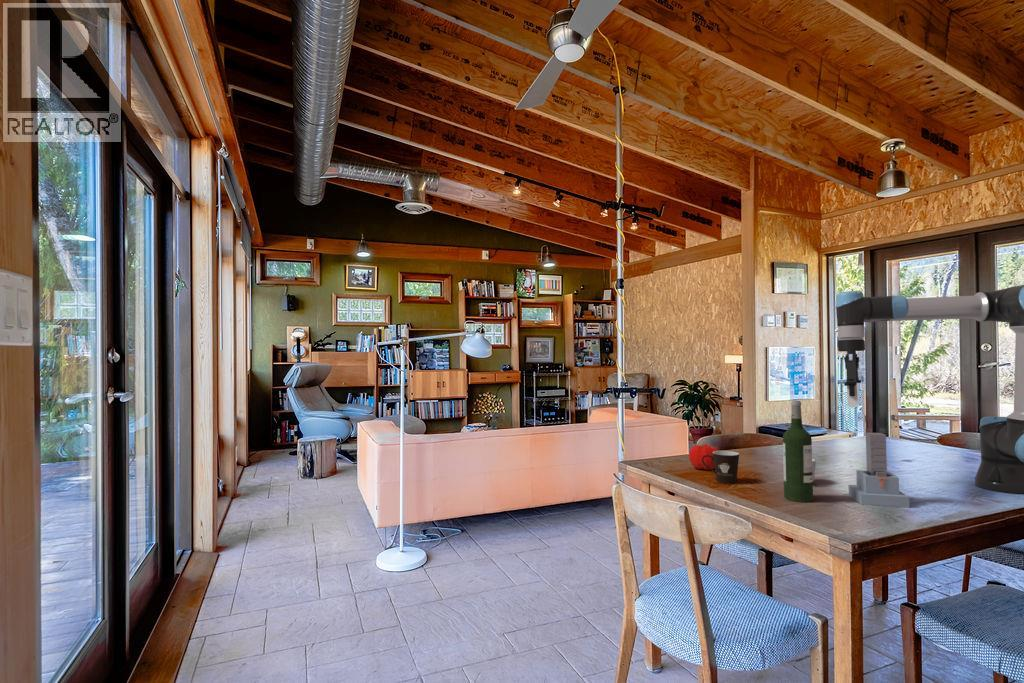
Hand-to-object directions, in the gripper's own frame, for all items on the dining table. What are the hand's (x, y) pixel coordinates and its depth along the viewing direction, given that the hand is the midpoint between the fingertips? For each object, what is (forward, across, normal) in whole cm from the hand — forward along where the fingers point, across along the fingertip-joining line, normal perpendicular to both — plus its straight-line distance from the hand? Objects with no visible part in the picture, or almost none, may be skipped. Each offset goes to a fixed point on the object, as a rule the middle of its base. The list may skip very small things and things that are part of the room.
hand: (853, 404), depth 173 cm
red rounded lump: (+27, -8, -50) cm, 58 cm away
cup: (+28, -2, -15) cm, 32 cm away
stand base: (+28, +10, +6) cm, 30 cm away
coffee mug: (+27, +9, -39) cm, 49 cm away
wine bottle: (+28, +21, -14) cm, 37 cm away
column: (+28, +10, +6) cm, 30 cm away
